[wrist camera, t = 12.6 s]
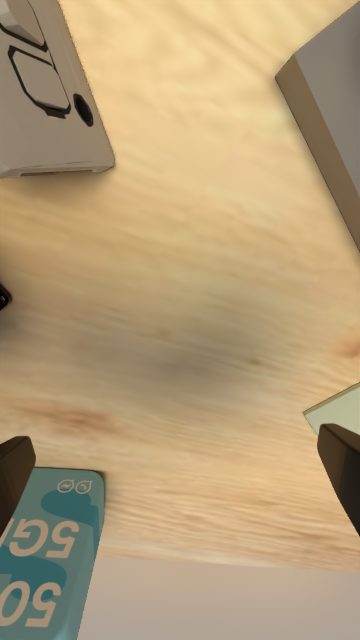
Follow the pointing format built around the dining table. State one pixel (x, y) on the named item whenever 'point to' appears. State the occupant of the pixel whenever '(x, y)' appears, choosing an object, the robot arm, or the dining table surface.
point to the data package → (50, 554)
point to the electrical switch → (45, 96)
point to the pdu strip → (331, 108)
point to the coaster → (338, 411)
